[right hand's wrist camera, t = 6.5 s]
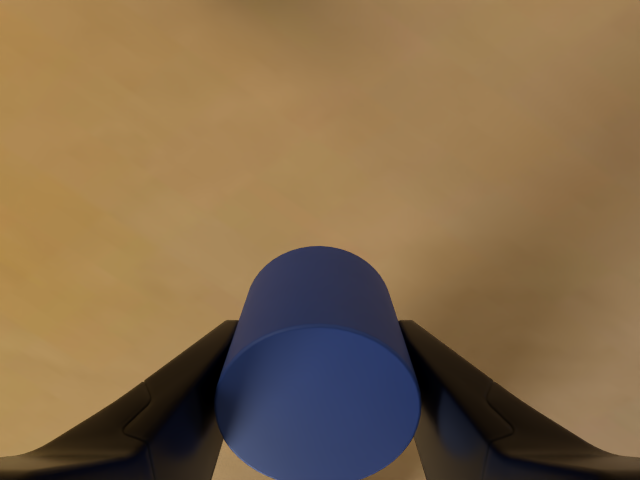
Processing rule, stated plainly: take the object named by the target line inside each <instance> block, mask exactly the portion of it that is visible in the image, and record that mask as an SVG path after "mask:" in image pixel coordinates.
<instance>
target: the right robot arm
mask: <svg viewBox="0 0 640 480" xmlns="http://www.w3.org/2000/svg"><path fill="white" fill-rule="evenodd" d="M238 322H239V320H226V321H224V322H223V323H222V324H220V325H219V326H218V327H216V328H215V329H214V330H212V331H211V332H210V333H208V334H207V335H205V336H204V337H203V338H201V339H200V340H199V341H197V342H196V343H195V344H193V345H192V346H191V347H189V348H188V349H186V350H185V351H184V352H182V353H181V354H180V355H178V356H177V357H176V358H174V359H173V360H171V361H170V362H169V363H167V364H166V365H165V366H163V367H162V368H161V369H159V370H158V371H157V372H155V373H154V374H152V375H151V376H150V377H148V378H147V379H146V380H145V381H144V382H141V383H140V384H139V385H137V386H136V387H135V388H133V389H132V390H131V391H129V392H128V393H126V394H125V395H123V396H122V397H121V398H119V399H118V400H116V401H115V402H113V403H112V404H110V405H109V406H107V407H106V408H104V409H102V410H101V411H99V412H98V413H96V414H95V415H93V416H91V417H90V418H88V419H86V420H85V421H83V422H82V423H80V424H78V425H77V426H75V427H74V428H72V429H70V430H69V431H67V432H66V433H64V434H62V435H61V436H59V437H57V438H56V439H54V440H53V441H51V442H49V443H48V444H46V445H44V446H42V447H40V448H38V449H36V450H34V451H31V452H28V453H25V454H21V455H17V456H10V457H0V480H211V479H212V476H213V472H214V469H215V466H216V462H217V459H218V456H219V452H220V449H221V446H222V442H223V439H224V438H223V436H222V434H221V433H220V430H219V427H218V424H217V421H216V416H215V410H214V397H215V391H216V387H217V384H218V381H219V378H220V375H221V372H222V369H223V366H224V363H225V360H226V357H227V354H228V351H229V348H230V345H231V342H232V340H233V337H234V334H235V331H236V328H237V325H238ZM398 323H399V326H400V329H401V332H402V335H403V338H404V341H405V344H406V347H407V350H408V353H409V356H410V360H411V363H412V366H413V369H414V372H415V375H416V378H417V381H418V385H419V388H420V392H421V401H422V406H421V416H420V420H419V424H418V427H417V430H416V432H415V435H414V439H415V442H416V446H417V449H418V453H419V456H420V459H421V463H422V466H423V469H424V473H425V476H426V480H640V458H639V457H627V456H620V455H615V454H612V453H609V452H606V451H603V450H601V449H599V448H597V447H594V446H593V445H591V444H589V443H588V442H586V441H584V440H583V439H581V438H579V437H578V436H576V435H575V434H573V433H571V432H570V431H568V430H567V429H565V428H563V427H562V426H560V425H559V424H557V423H555V422H554V421H552V420H551V419H549V418H547V417H546V416H544V415H543V414H541V413H539V412H538V411H536V410H535V409H533V408H532V407H530V406H529V405H527V404H526V403H524V402H523V401H521V400H520V399H518V398H517V397H515V396H514V395H513V394H511V393H510V392H508V391H507V390H506V389H504V388H503V387H501V386H500V385H499V384H497V383H496V382H493V380H492V379H491V378H489V377H488V376H486V375H485V374H484V373H482V372H481V371H480V370H478V369H477V368H476V367H474V366H473V365H472V364H470V363H469V362H468V361H466V360H465V359H464V358H462V357H461V356H460V355H458V354H457V353H456V352H454V351H453V350H451V349H450V348H449V347H447V346H446V345H445V344H443V343H442V342H441V341H439V340H438V339H437V338H435V337H434V336H433V335H431V334H430V333H429V332H427V331H426V330H425V329H423V328H422V327H420V326H419V325H418V324H416V323H415V322H414V321H412V320H399V321H398Z"/></svg>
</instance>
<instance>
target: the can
mask: <svg viewBox="0 0 640 480" xmlns="http://www.w3.org/2000/svg"><path fill="white" fill-rule="evenodd" d="M421 406H422V401H421V392H420V388H419V385H418V381H417V378H416V375H415V372H414V369H413V366H412V363H411V360H410V356H409V353H408V350H407V347H406V344H405V341H404V338H403V335H402V332H401V329H400V326H399V323H398V320H397V316H396V313H395V310H394V307H393V304H392V301H391V298H390V295H389V292H388V289H387V287H386V285H385V283H384V281H383V279H382V278H381V276H380V275H379V274H378V272H377V271H376V270H375V269H374V268H373V267H372V266H371V265H370V264H368V263H367V262H366V261H365V260H363V259H362V258H360V257H358V256H356V255H354V254H352V253H350V252H348V251H345V250H342V249H338V248H333V247H325V246H310V247H304V248H299V249H296V250H292V251H289V252H287V253H285V254H282V255H280V256H279V257H277V258H275V259H274V260H272V261H271V262H270V263H269V264H267V265H266V266H265V267H264V268H263V269H262V270H261V271H260V272H259V274H258V275H257V276H256V278H255V279H254V281H253V283H252V285H251V287H250V290H249V292H248V295H247V298H246V301H245V304H244V307H243V310H242V313H241V316H240V319H239V322H238V325H237V328H236V331H235V334H234V337H233V340H232V342H231V345H230V348H229V351H228V354H227V357H226V360H225V363H224V366H223V369H222V372H221V375H220V378H219V381H218V384H217V387H216V391H215V397H214V410H215V416H216V421H217V424H218V427H219V430H220V433H221V434H222V436H223V438H224V440H225V442H226V443H227V445H228V446H229V447H230V449H231V450H232V451H233V452H234V453H235V454H236V455H237V456H238V457H239V458H240V459H241V460H242V461H243V462H245V463H246V464H247V465H248V466H250V467H252V468H253V469H255V470H256V471H258V472H260V473H262V474H264V475H266V476H268V477H271V478H274V479H276V480H360V479H363V478H365V477H368V476H370V475H372V474H374V473H376V472H378V471H380V470H381V469H383V468H385V467H386V466H387V465H389V464H390V463H391V462H393V461H394V460H395V459H396V458H397V457H398V456H399V455H400V454H401V453H402V452H403V451H404V450H405V449H406V447H407V446H408V445H409V443H410V442H411V440H412V438H413V437H414V435H415V432H416V430H417V427H418V424H419V420H420V416H421Z"/></svg>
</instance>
